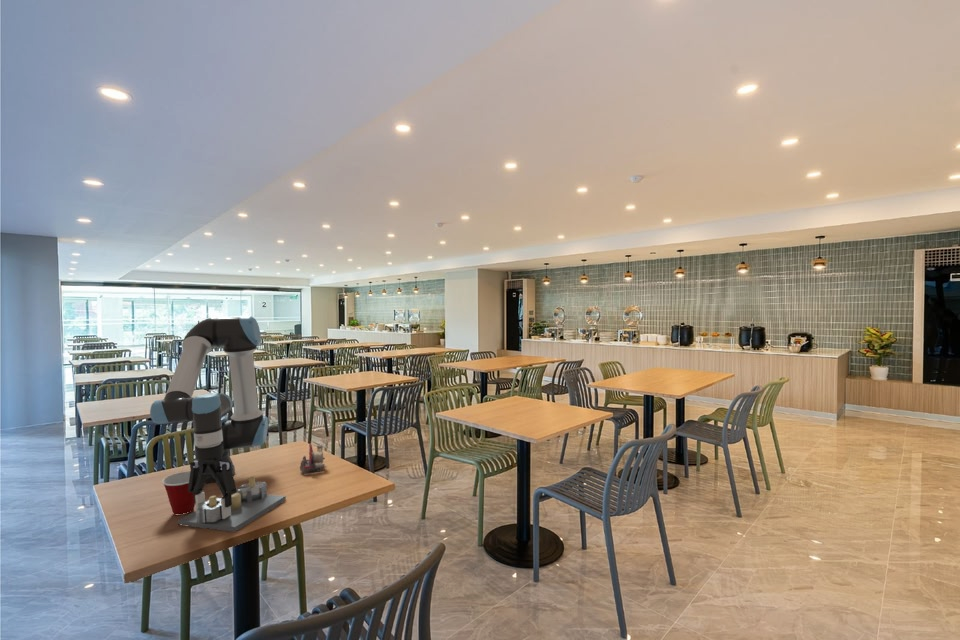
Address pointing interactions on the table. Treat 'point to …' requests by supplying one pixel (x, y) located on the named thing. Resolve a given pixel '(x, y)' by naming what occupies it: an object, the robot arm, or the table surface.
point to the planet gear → (209, 512)
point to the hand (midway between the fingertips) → (213, 515)
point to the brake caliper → (313, 461)
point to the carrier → (237, 511)
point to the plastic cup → (179, 492)
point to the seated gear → (252, 492)
